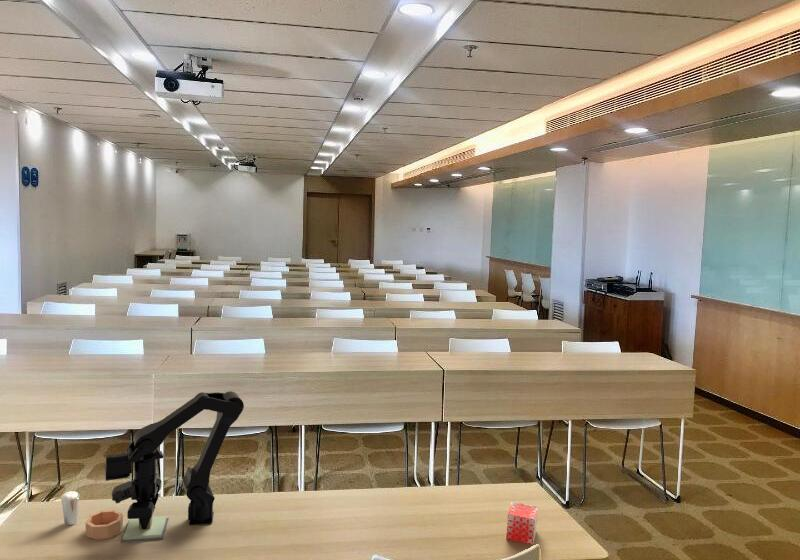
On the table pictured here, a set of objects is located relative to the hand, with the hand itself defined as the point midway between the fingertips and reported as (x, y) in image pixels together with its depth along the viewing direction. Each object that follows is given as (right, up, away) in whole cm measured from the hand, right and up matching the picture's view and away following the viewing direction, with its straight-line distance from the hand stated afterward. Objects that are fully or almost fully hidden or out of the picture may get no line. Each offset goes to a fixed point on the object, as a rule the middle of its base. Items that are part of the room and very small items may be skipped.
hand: (145, 525), depth 174 cm
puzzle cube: (+109, -6, +8) cm, 110 cm away
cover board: (0, -1, 0) cm, 1 cm away
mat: (0, -1, 0) cm, 1 cm away
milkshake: (-22, 0, +2) cm, 22 cm away
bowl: (-11, -1, -1) cm, 11 cm away
